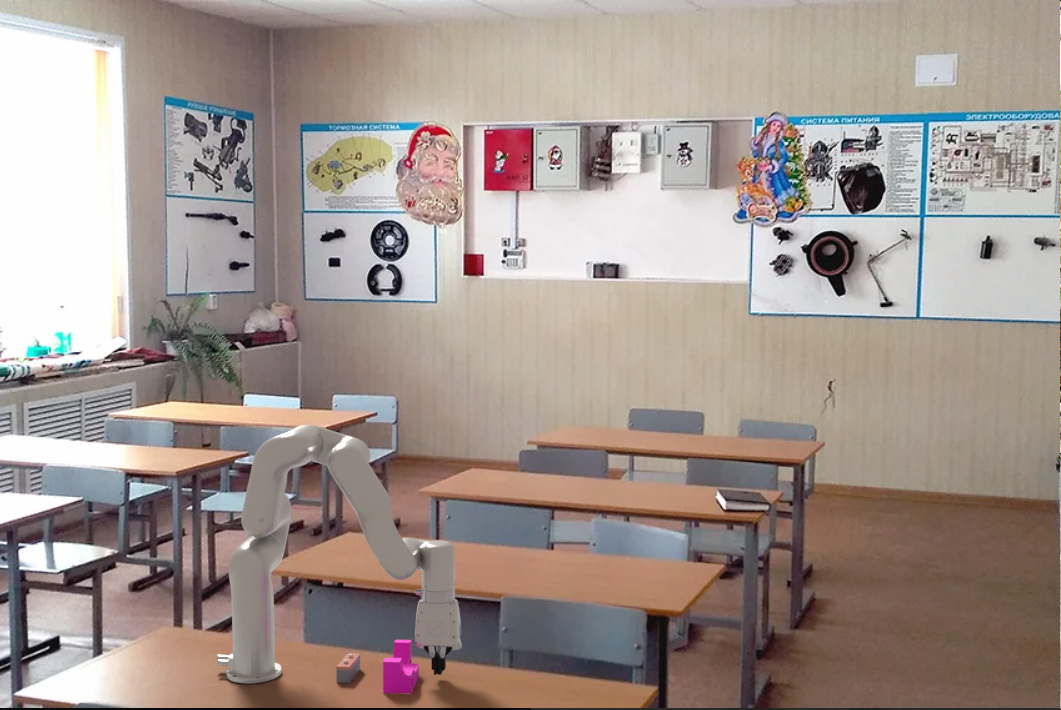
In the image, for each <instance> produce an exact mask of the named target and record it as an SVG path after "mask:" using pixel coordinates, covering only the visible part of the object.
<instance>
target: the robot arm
mask: <svg viewBox="0 0 1061 710" xmlns="http://www.w3.org/2000/svg"><path fill="white" fill-rule="evenodd" d="M370 460H371V452H370V448H369V447H368V445H367V444H366V442H364V441H363V440H361V439H359V438H357V437H354V436H351V435H347V434H345V433H341V432H337V431H334V430H331V429H327V428H325V427H320V426H319V425H318V426H317V425H313V424H301V425H299V426H296V427H295V428H293V429H291V430H289V431H286V432H284V433H281V434H279V435H275V436H273V437H271V438H269V439H267V440H266V441H264V442H263V443H262V444H261V445H260V446H259V448H258V449H257V451H256V452H255V454H254V457H253V461H252V464H251V469H250V474H249V480H248V483H247V488H246V493H245V497H244V502H243V507H242V511H241V516H240V522H241V526H242V528H243V530H244V532H245V533H246V534H247V537H246V539H245V541H244V540H243V542H242V543H240V544H239V545H238V546H237V547H236V548H235V549H234V550H233V552H232V553H231V555H230V557H229V561H228V568H227V571H228V572H227V573H228V579H229V584H230V591H231V592H230V593H231V594H230V595H231V619H232V621H231V622H232V624H231V627H232V631H231V632H232V633H231V634H232V653H230V655H228V654H221V653H220V654H217V656H216V662H217V666H218V667H219V666H220V667H222V666H223V667H224V666H225V667H227V669H226V671H225V674H226V678H227V680H228V681H231V682H232V683H233V682H234V683H237V684H238V683H239V684H251V685H252V684H258V683H265V682H270V681H272V680H275V679H276V678H278V677H279V676H281V674H282V672H283V671H282V669H283V668H282V665H281V664H279V663H278V662H276V661H275V658H276V657H275V656H276V655H275V653H276V651H275V649H276V648H275V646H276V645H275V604H274V602H275V600H274V599H275V598H274V597H275V595H274V588H273V583H272V573H273V571H274V570H275V569H276V568H278V566H279V565H280V564H281V562H282V560H283V557H284V555H285V550H286V546H287V545H286V544H287V539H288V536H289V530H290V525H291V520H292V513H293V511H292V510H293V509H292V503H291V500H290V499H289V497H288V496H287V494H285V492H286V488H287V484H288V473H289V471H290V470H292V469H294V468H299V467H303V466H305V465H307V464H308V463H310V462H313V463H318V464H320V465H324V466H326V467H327V469H328V471H329V474H330V475H331V476H332V478H333V480H334V482H335V483H336V485H337V486H338V488H339V490H341V492H342V494H343V495H344V497H345V498H346V500H347V502H348V503H349V506H351V508H352V509H353V511H354V513H355V515H356V516H357V520H358V523H359V526H360V528H361V530H362V533H363V535H364V538H365V540H366V541H365V542H366V543H367V545H368V547H369V549H370V551H371V552H372V554H373V556H374V558H375V559H376V560H377V562H378V564H379V565H380V567H381V568H382V570H383V571H384V572H385V573H386V575H388V576H389V577H390V578H392V579H394V580H396V581H404V580H408V579H409V578H411V577H412V576H413V575H414V574H415V573H416V571H417V570H421V588H419V589H417V588H416V589H415V595H416V596H420V599H419V600H418V602H417V608H416V613H415V614H416V616H415V629H414V641H415V643H414V644H415V645H414V646H415V647H416V648H419V649H422V650H425V652H426V653H427V654H428V655H429V657H430V659H431V670H432V671H433V675H434V676H435V675H437V676H441V675H442V674H443V672H444V671H446V666H447V665H446V661H447V660H446V658H447V657H446V656H448V654H450V653H451V652H452V651H457V650H461V649H462V646H463V644H462V642H461V641H462V640H461V638H462V623H461V613H460V607H459V601H458V600H457V599H456V595H455V592H456V589H455V588H456V584H455V583H456V582H455V581H456V580H455V579H456V576H455V575H456V572H455V571H456V570H455V569H456V567H455V564H456V563H455V561H456V560H455V558H456V555H455V554H456V552H455V551H456V550H455V546H454V544H453V543H452V542H450V541H448V540H442V539H439V540H437V539H436V540H434V539H433V540H426V539H419V538H416V537H403V538H402V536H401V535H400V533H399V531H398V529H397V526H396V525H395V524H396V523H395V522H394V517H393V514H392V509H391V508H392V505H391V498H390V496H389V494H388V491H387V490H386V489H385V487H384V485H383V484H382V482H381V480H380V479H379V478H378V476H377V474H376V473H375V471H374V469H373V468H372V466H371V465H370ZM438 647H440V651H439V652H440V653H439V652H438Z"/></svg>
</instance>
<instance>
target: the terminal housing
mask: <svg viewBox="0 0 1061 710" xmlns="http://www.w3.org/2000/svg"><path fill="white" fill-rule="evenodd" d="M360 670H361V653H357V652H354V653H351V652H347V653H346V654H345V656H344V657H343V658H342V659H341V661H339V663H338V664H337V665H336V671H335V672H336V683H337V684H338V683H339V684H350V683H351V681H352V680H353V679H354V678H355V677H356V676H357V674H358V673H359V672H360Z"/></svg>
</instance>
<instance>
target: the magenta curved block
mask: <svg viewBox="0 0 1061 710" xmlns="http://www.w3.org/2000/svg"><path fill="white" fill-rule="evenodd" d="M392 653H393V654H392V657H384V660H383V661H382V685H383V686H382V693H383V694H386V693H411V692H412V693H413V691H412V690H414V689H415V687H416V684H417V682H418V680H419V678H420V675H419V674H420V670H419V667H420V666H419V663H412V639H395V640H394V642H393V652H392ZM416 681H417V682H416ZM414 686H415V687H414ZM413 688H414V689H413ZM412 693H411V694H412Z"/></svg>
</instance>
